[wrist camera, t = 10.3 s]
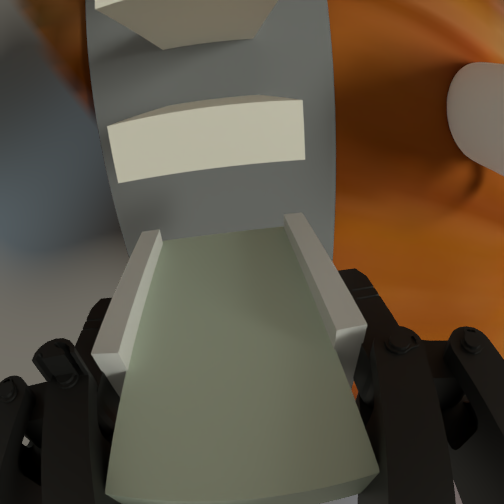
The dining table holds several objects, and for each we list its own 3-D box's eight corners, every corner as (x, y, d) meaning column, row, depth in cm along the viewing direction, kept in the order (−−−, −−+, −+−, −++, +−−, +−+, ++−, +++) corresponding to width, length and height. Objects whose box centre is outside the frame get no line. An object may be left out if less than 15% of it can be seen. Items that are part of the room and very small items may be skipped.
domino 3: (285, 259, 13) (361, 492, 5) (171, 273, 13) (136, 512, 5) (284, 226, 13) (380, 471, 4) (163, 240, 12) (104, 494, 4)
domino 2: (168, 105, 15) (107, 126, 7) (257, 94, 16) (302, 100, 7) (172, 132, 16) (118, 183, 8) (260, 121, 16) (305, 159, 8)
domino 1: (160, 25, 13) (94, -36, 4) (250, 14, 13) (285, -64, 4) (162, 50, 14) (94, 9, 5) (253, 38, 14) (291, -20, 5)
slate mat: (101, -130, 4) (99, -133, 4) (291, -152, 5) (292, -155, 4) (163, 347, 25) (162, 352, 25) (324, 328, 26) (326, 333, 25)
